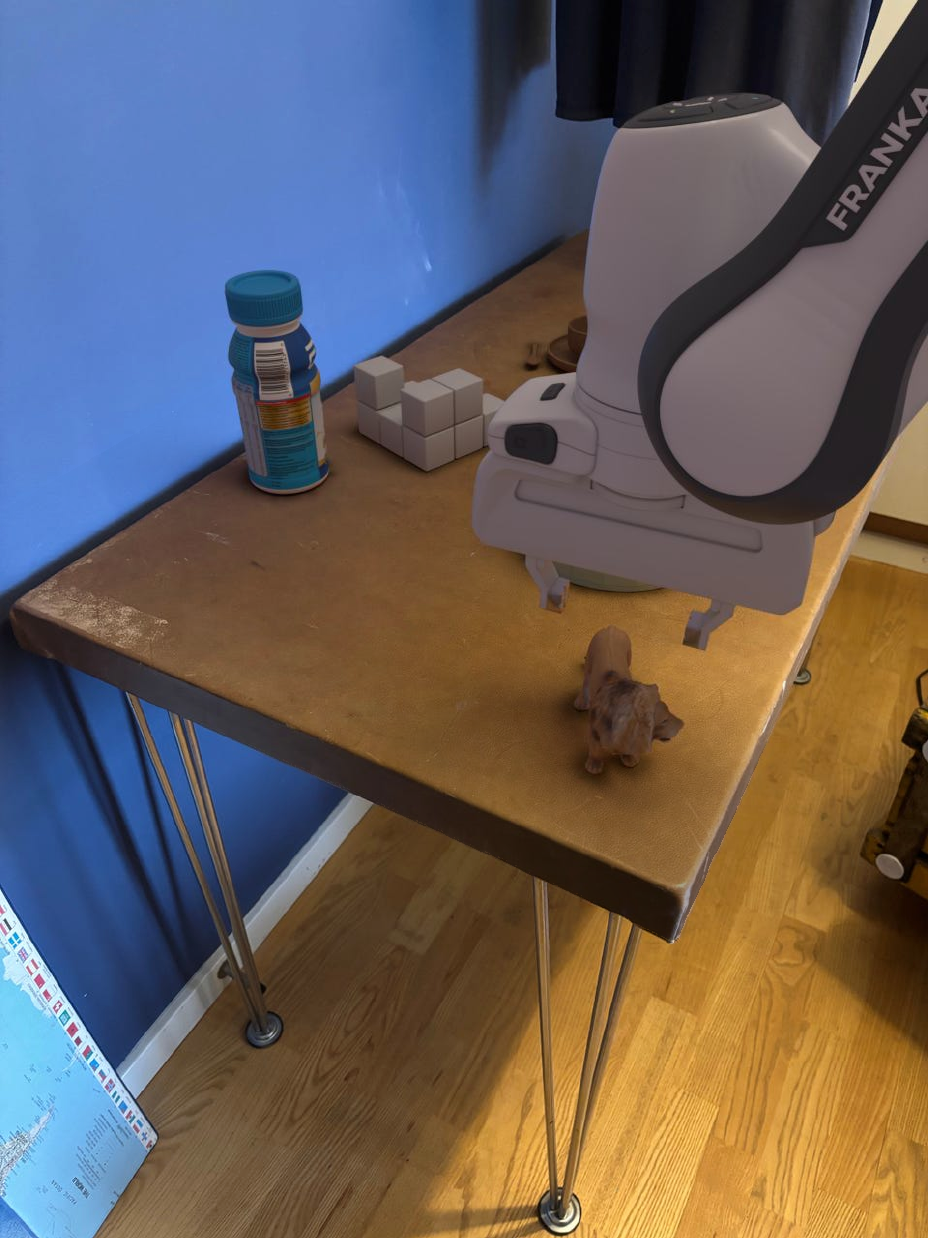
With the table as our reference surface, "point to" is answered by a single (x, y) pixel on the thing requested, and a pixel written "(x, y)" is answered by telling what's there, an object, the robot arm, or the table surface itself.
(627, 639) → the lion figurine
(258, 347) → the beverage bottle
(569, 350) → the place setting
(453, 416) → the puzzle cube
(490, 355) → the table surface
